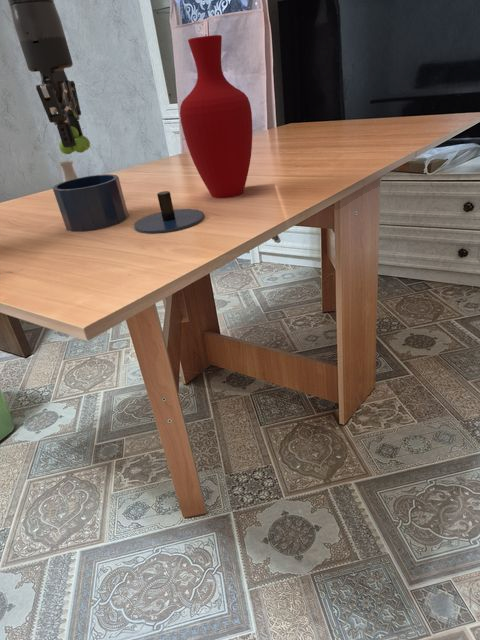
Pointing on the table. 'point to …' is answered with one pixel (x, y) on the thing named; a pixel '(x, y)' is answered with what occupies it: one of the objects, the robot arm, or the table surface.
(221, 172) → the vase
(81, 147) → the grapes
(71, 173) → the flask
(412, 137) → the table surface
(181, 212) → the lid
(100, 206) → the pot
